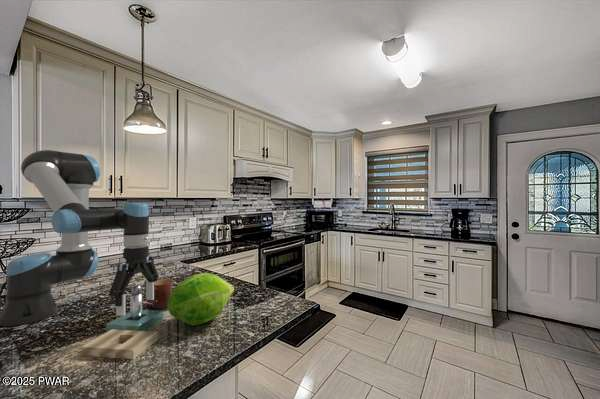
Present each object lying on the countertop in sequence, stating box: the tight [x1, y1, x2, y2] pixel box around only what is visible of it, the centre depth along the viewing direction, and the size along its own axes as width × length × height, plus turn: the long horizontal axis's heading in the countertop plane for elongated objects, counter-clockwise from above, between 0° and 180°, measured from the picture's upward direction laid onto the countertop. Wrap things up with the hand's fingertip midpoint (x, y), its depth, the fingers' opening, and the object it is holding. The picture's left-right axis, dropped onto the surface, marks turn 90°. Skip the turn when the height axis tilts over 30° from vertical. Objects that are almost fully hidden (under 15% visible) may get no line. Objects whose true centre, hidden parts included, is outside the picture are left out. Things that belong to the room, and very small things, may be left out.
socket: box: [105, 309, 164, 333], centre depth 90 cm, size 12×12×3 cm
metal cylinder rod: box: [129, 284, 143, 320], centre depth 90 cm, size 4×4×14 cm
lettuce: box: [167, 272, 235, 326], centre depth 93 cm, size 19×25×17 cm
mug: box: [147, 278, 175, 310], centre depth 105 cm, size 12×9×10 cm
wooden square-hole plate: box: [81, 329, 159, 360], centre depth 76 cm, size 16×10×2 cm, turn 83°
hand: (136, 306), depth 90 cm, fingers open, 13 cm apart
